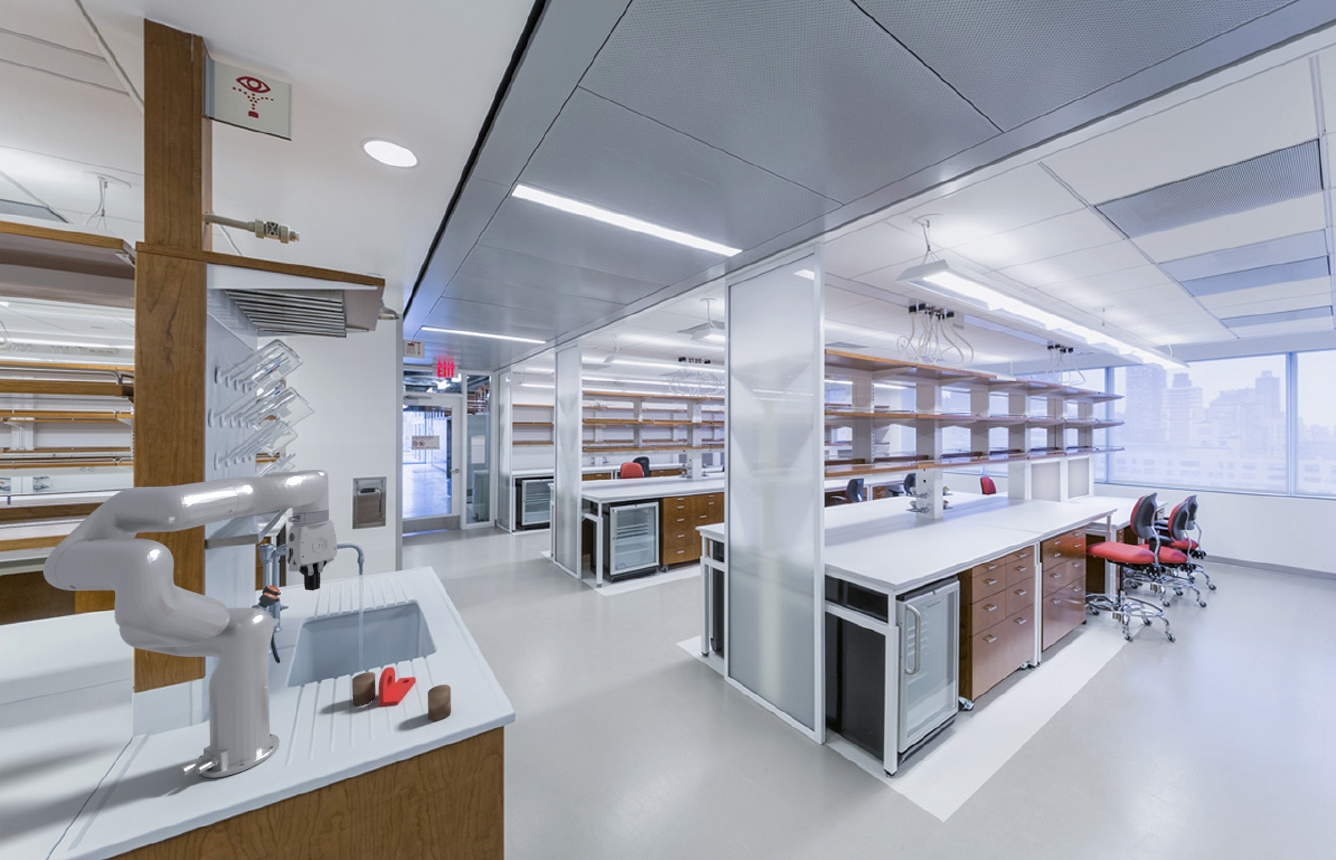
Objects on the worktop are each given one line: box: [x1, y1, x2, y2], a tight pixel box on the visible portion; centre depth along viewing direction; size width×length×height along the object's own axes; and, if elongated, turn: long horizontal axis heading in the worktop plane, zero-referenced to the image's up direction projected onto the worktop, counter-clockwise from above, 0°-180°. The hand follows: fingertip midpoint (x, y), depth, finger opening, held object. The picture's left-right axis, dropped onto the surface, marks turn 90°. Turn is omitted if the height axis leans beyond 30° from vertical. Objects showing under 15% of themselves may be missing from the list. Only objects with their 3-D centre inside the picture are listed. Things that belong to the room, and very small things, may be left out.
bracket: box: [378, 666, 417, 707], centre depth 126 cm, size 12×4×8 cm, turn 7°
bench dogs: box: [351, 671, 452, 722], centre depth 119 cm, size 5×29×6 cm, turn 73°
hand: (312, 589), depth 123 cm, fingers closed
